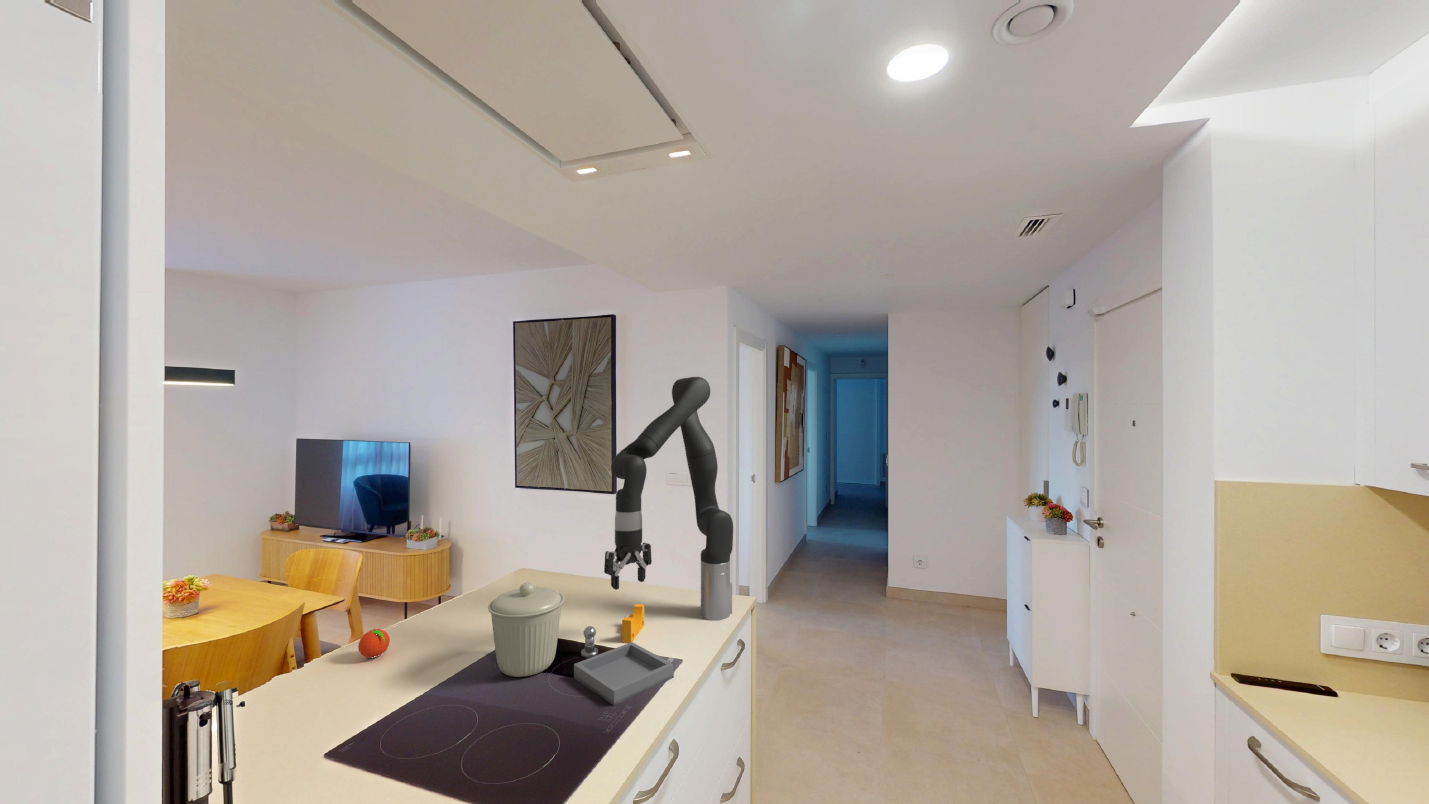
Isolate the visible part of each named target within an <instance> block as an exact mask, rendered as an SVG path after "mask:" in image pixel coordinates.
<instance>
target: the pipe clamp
mask: <svg viewBox="0 0 1429 804" xmlns="http://www.w3.org/2000/svg"><path fill="white" fill-rule="evenodd" d="M644 627H645V604H642V603H641V604H640V603H639V604H638V603H636V604H634V606H633V613H632V614H629V615H628V616H627V617H626V616H624V617H623V618H622V620H621V630H622V631H621V640H622V641H621V643H623V644H625V643H626V644H628V643H630V642H633V641H634V640H635V639H636V638H637V636H638V635H639V634H640V632H641V630H642V629H643V628H644Z"/></svg>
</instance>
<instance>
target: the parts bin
mask: <svg viewBox="0 0 1429 804" xmlns="http://www.w3.org/2000/svg"><path fill="white" fill-rule="evenodd" d="M674 666H675V665H674V663H672V662H671V661H668V660H666V659H664V658H662V657H661V656H660V655H657V654H655V653H653V652H652V651H650V650H648V649H646V648H643V647H642V646H641V645H639V644H636V643H635V642H633V641H632V642H630V643H626V644H625V643H624V644H623V645H620V646H618V647H615V648H613V649H610V650H607V651H605V652H602V653H598V654H597V655H596V656H594V657H590V658H586V659H584V660H581V661H579V662H576V663H574V664H573V679H574V680H576V681H577V682H579V683H580V684H582V685H583V686H584V687H586V688H587V689H589V690H590V691H592V692H593V693H595V694H596V695H598V696H599V697H601V698H602V699H604V700H605V702H608V703H609V704H611V705H612V706H616V705H619V704H621V703H624V702H625V701H628V700H630V699H632V698H634V697H637V694H638V695H641V694H643V693H645V692H647V691H648V689H649V690H650V689H653V688H655V687H657V686H659V685H662V684H663V683H665V682H668V681H670V680H672V679H674V678H675V676H674V675H675V669H674V668H675V667H674ZM646 690H647V691H646ZM627 699H628V700H627Z"/></svg>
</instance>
